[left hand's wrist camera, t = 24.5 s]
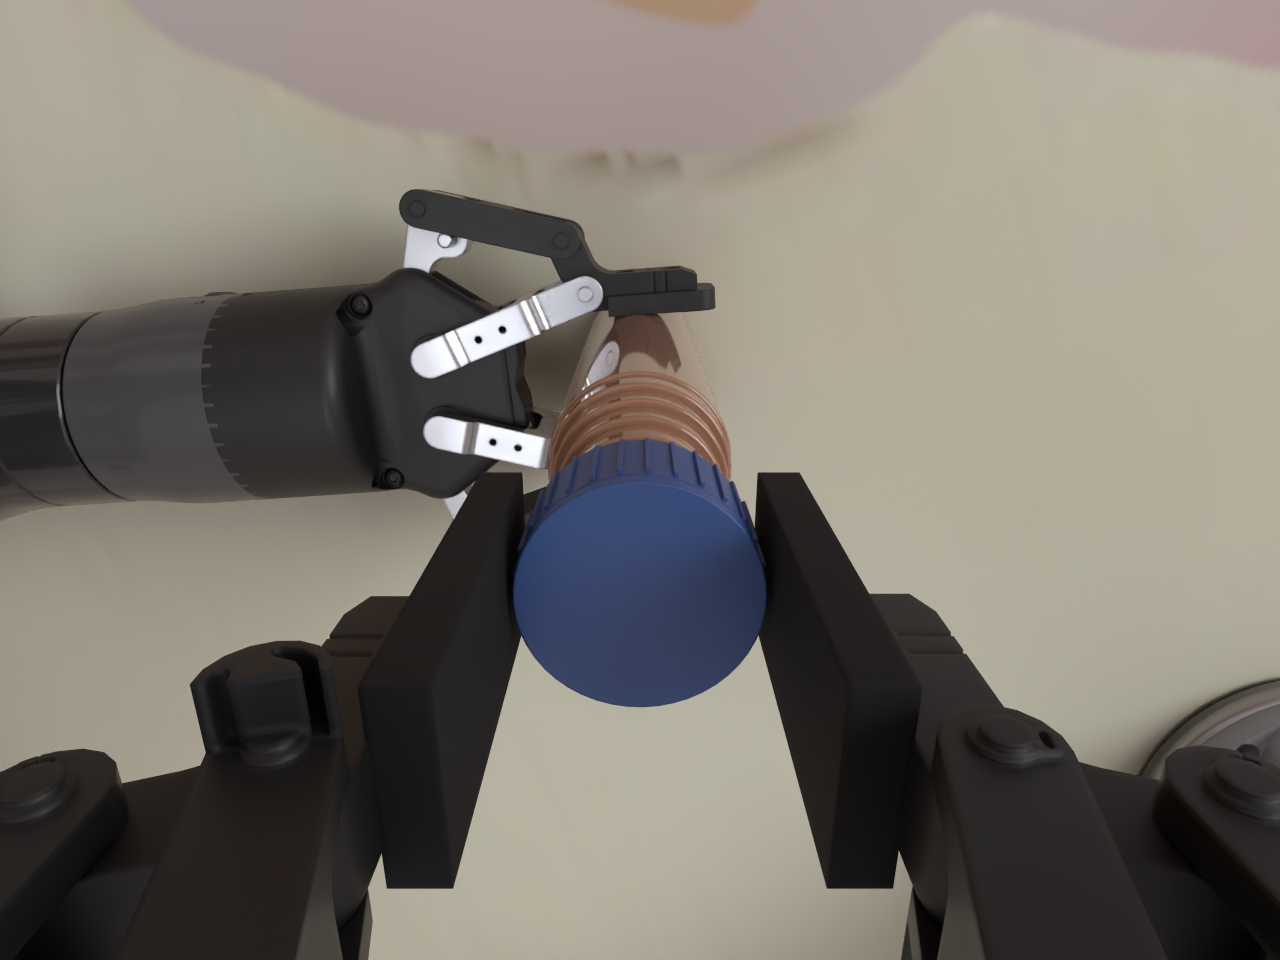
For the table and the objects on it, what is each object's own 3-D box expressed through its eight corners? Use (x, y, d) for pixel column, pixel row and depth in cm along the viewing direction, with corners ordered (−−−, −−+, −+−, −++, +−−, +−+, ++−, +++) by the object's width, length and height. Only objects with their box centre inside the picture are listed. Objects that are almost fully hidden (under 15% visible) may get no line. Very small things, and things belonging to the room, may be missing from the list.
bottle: (569, 346, 34) (454, 593, 13) (634, 268, 33) (625, 398, 12) (644, 410, 35) (652, 735, 14) (710, 336, 34) (827, 569, 13)
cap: (505, 452, 14) (482, 499, 12) (738, 418, 14) (757, 459, 11) (551, 652, 15) (537, 725, 13) (762, 623, 15) (783, 693, 13)
